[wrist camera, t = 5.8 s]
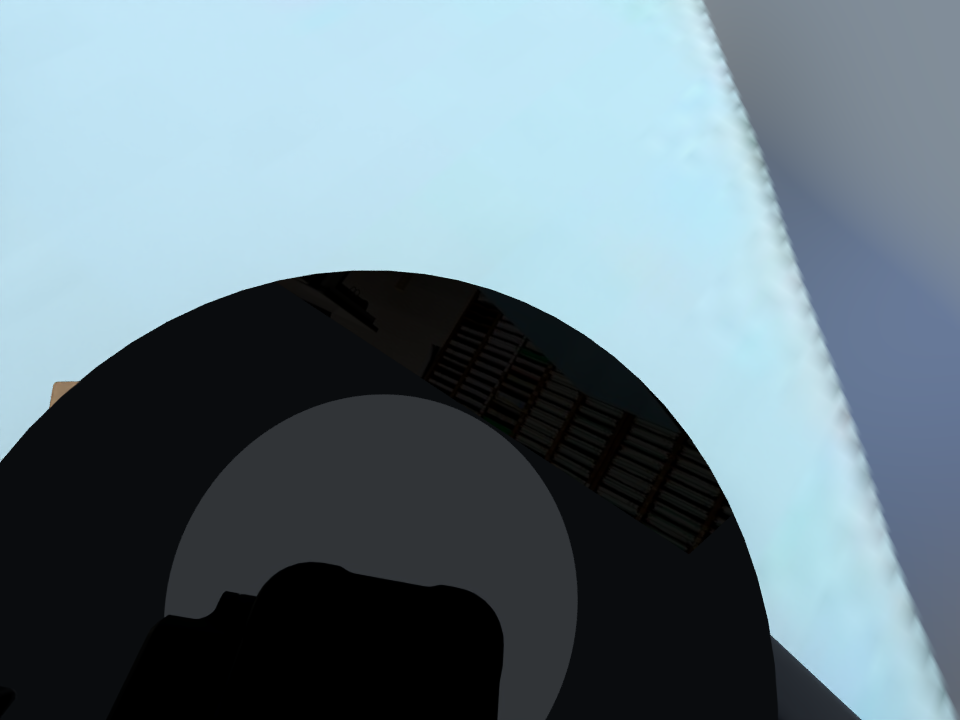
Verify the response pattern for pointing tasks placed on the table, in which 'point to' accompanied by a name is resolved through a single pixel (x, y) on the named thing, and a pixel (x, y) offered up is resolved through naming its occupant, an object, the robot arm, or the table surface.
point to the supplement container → (371, 524)
